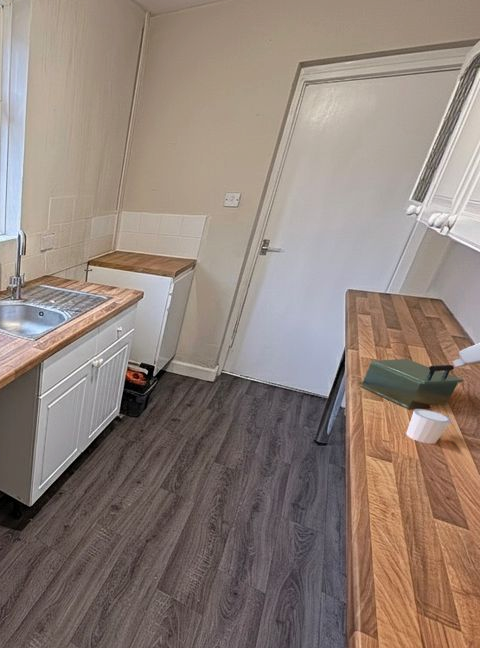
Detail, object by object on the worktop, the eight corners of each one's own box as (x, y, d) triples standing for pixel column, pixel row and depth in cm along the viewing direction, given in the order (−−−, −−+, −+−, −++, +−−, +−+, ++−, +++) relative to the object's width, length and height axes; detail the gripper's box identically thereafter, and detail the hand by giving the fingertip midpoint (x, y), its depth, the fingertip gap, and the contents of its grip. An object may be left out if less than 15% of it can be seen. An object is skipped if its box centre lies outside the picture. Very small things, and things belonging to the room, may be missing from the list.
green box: (445, 407, 124) (458, 381, 121) (407, 409, 123) (420, 383, 120) (394, 385, 138) (405, 361, 134) (360, 387, 136) (370, 362, 133)
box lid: (462, 382, 120) (470, 367, 118) (423, 384, 119) (431, 369, 117) (405, 361, 134) (412, 347, 132) (370, 362, 133) (376, 349, 131)
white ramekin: (443, 440, 108) (455, 417, 106) (434, 448, 105) (446, 425, 103) (408, 427, 114) (418, 406, 111) (398, 435, 111) (409, 412, 108)
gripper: (568, 330, 103) (499, 351, 115) (495, 332, 101) (433, 354, 114) (584, 353, 100) (511, 372, 113) (509, 356, 99) (444, 375, 111)
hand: (471, 363), depth 113 cm, fingers open, 8 cm apart
